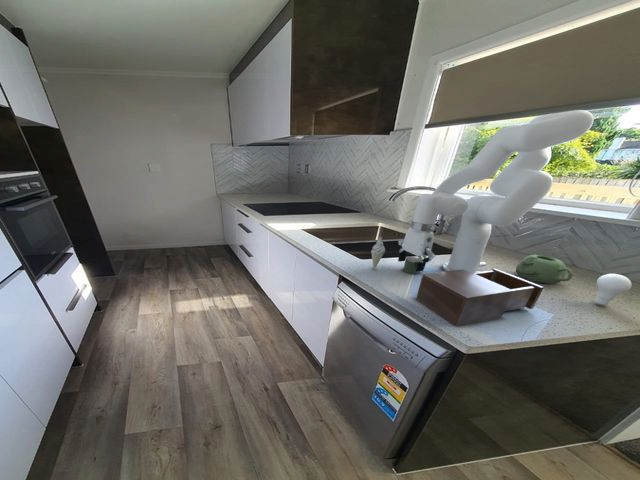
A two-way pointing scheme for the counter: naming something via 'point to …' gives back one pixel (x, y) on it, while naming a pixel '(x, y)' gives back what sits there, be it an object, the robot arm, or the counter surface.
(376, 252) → the ice cream cone
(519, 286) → the drawer
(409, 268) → the tin
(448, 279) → the wooden box
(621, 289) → the lightbulb
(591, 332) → the counter surface
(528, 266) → the green rounded ceramic pot
